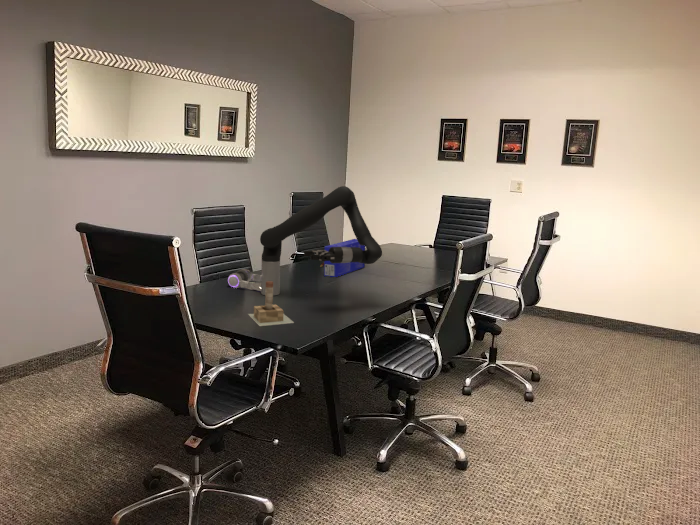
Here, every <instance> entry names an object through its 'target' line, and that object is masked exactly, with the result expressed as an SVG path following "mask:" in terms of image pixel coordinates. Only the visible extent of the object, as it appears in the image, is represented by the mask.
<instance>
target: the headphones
mask: <svg viewBox="0 0 700 525" xmlns="http://www.w3.org/2000/svg"><path fill="white" fill-rule="evenodd" d="M251 281H254V282H251ZM227 282H228V285H229V286H230V287H231V288H232V287H233V288H232V289H235V288H236V290H237V288H238V289H239V288H242V289H248V290H250V291H258V292H261V274H257V273H256V274H255V273H252V272H251V271H250V270H249V269H247V268H242V269H238V270H237V271H236V272H233V273H231V274H229V276H228V278H227Z"/></svg>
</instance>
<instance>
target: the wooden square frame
mask: <svg viewBox="0 0 700 525" xmlns="http://www.w3.org/2000/svg"><path fill="white" fill-rule="evenodd" d="M253 314H254V317H255V318H256V319H257V320H258V321H259V322H260V323H265V322H276V321H283V314H285V313H284V310H283V308H281V307H280V306H278V305H277V304H273V310H265V304H264V305H254V306H253Z"/></svg>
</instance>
